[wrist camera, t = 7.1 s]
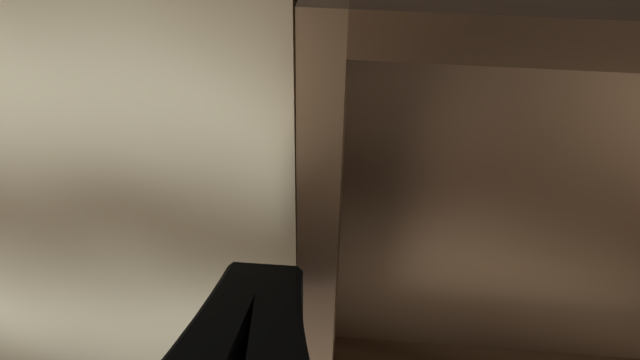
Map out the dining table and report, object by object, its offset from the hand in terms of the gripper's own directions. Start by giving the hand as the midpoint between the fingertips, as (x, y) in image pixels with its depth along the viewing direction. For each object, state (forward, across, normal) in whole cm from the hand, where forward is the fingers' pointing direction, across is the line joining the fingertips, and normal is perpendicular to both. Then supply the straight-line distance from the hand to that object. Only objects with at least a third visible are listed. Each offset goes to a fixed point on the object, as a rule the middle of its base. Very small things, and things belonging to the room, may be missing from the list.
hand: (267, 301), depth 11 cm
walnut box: (+4, -6, 0) cm, 8 cm away
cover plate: (+3, +6, 0) cm, 7 cm away
